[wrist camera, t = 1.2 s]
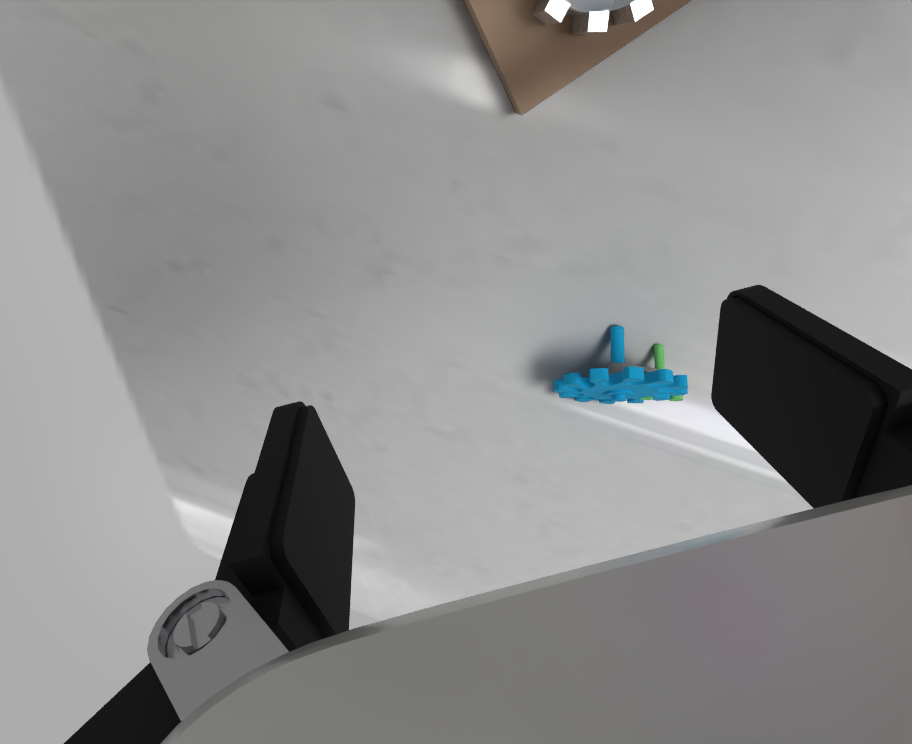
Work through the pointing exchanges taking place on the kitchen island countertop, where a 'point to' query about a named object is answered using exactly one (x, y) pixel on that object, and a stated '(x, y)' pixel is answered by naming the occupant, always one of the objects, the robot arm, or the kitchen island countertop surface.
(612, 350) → the gear
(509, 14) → the gear board
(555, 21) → the gear
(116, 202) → the kitchen island countertop surface
